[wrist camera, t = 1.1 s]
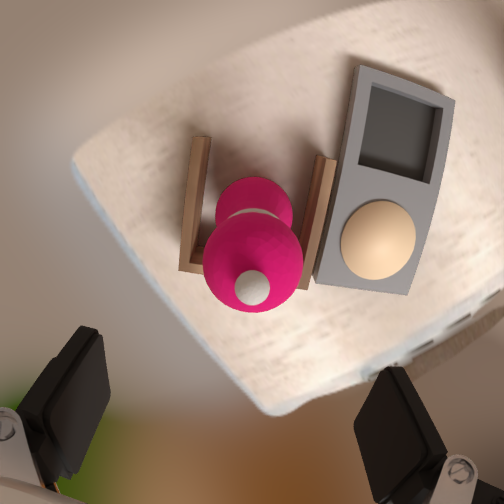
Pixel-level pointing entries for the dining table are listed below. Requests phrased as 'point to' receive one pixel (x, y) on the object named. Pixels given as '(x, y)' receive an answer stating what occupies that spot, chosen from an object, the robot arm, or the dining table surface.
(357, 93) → the gray portable music player
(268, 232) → the pepper mill
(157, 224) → the dining table surface
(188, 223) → the wooden u-shaped frame
